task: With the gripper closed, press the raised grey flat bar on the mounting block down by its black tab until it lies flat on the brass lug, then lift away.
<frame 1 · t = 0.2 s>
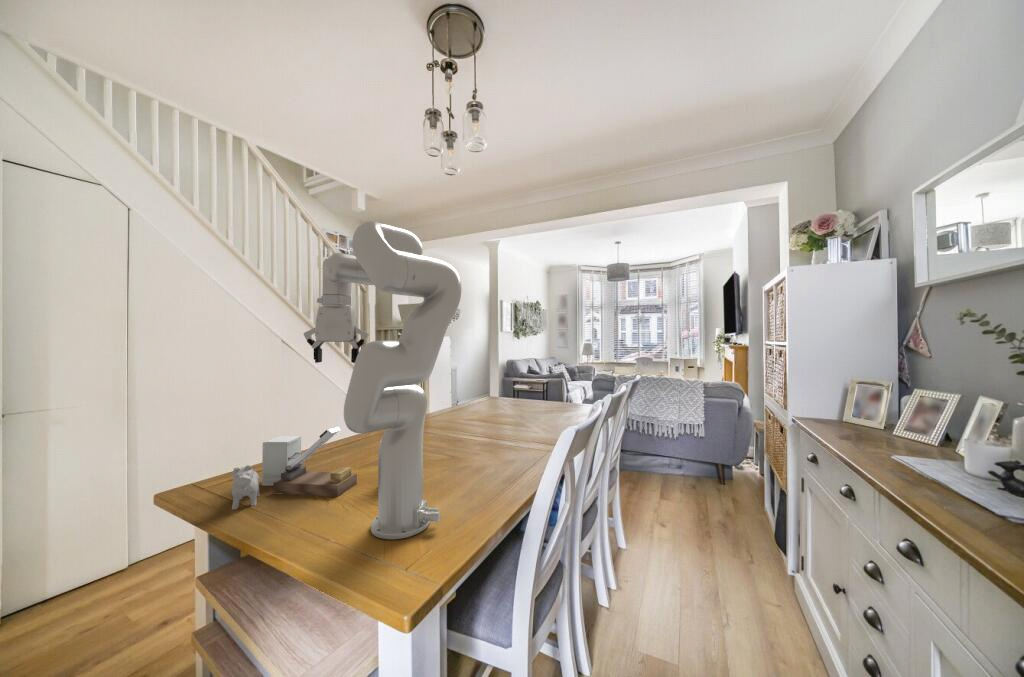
hand: (336, 362, 102), 36 cm above the table, tool pointing down, fingers open, 9 cm apart
mount block: (316, 488, 101), on the table
dog figurine: (246, 504, 92), on the table
supplement box: (282, 481, 107), on the table
grey flat bar: (312, 448, 101), point 11 cm above the table, hinge at 40.0°
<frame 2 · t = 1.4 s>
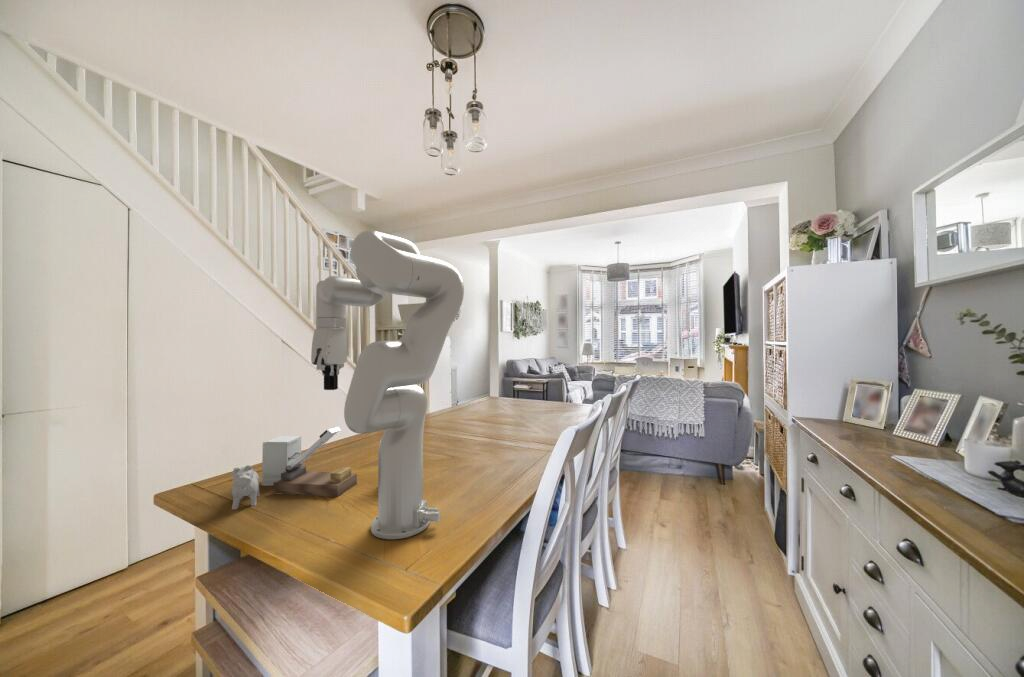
hand: (330, 389, 101), 28 cm above the table, tool pointing down, fingers closed
nothing on the table moved.
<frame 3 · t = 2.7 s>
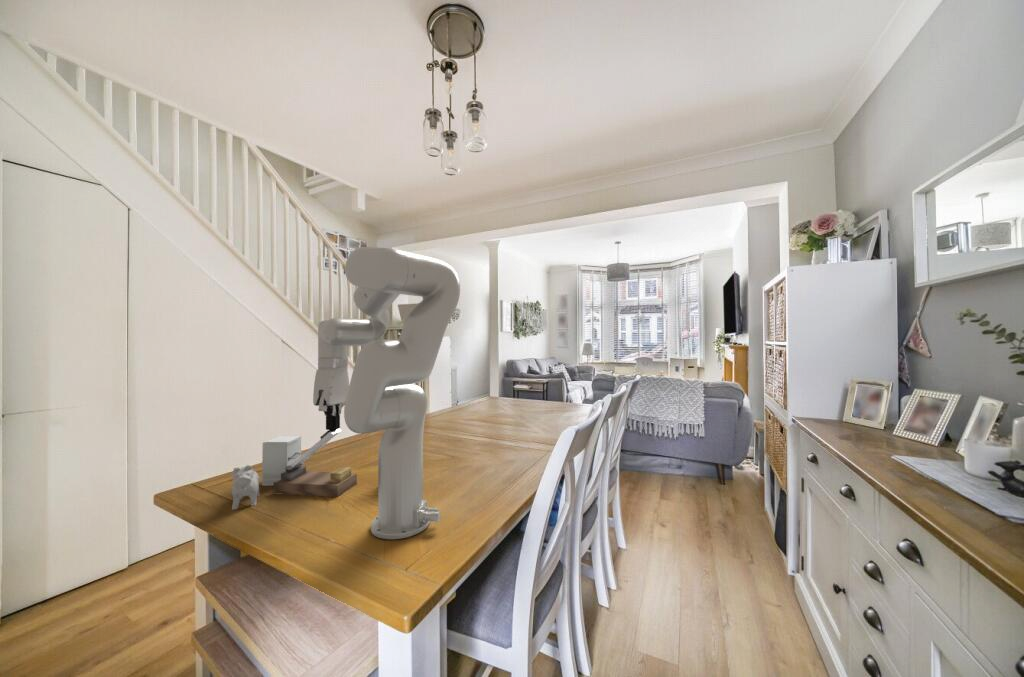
hand: (332, 429, 100), 17 cm above the table, tool pointing down, fingers closed
grey flat bar: (313, 449, 101), point 11 cm above the table, hinge at 38.4°, touching gripper
everything else where it was.
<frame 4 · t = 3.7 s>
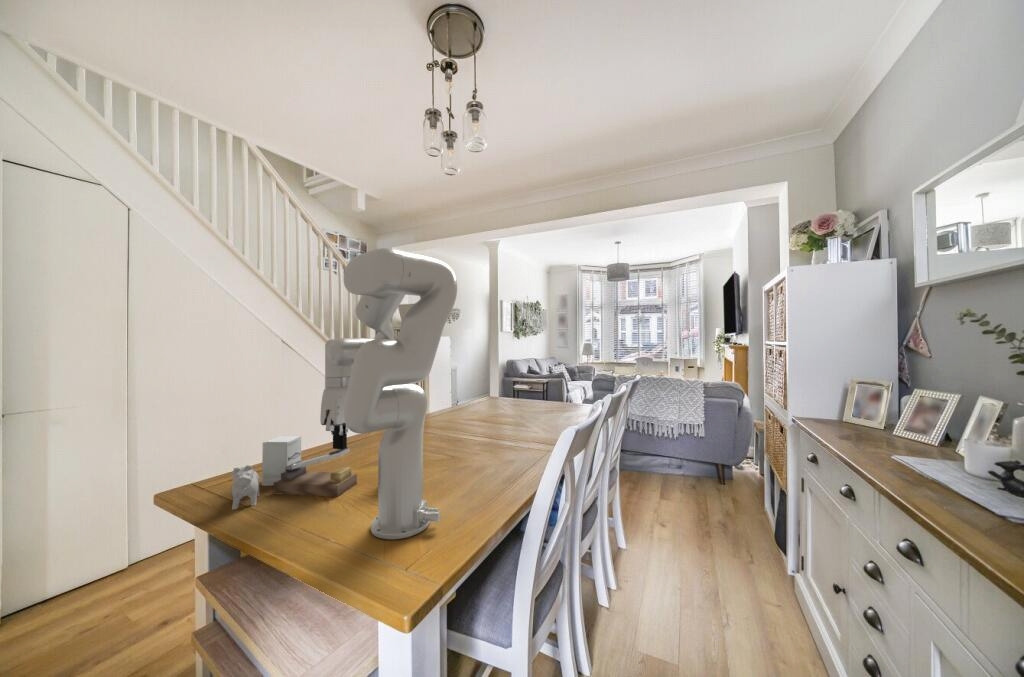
hand: (339, 448, 100), 11 cm above the table, tool pointing down, fingers closed
grey flat bar: (318, 458, 101), point 8 cm above the table, hinge at 16.1°, touching gripper
everything else where it was.
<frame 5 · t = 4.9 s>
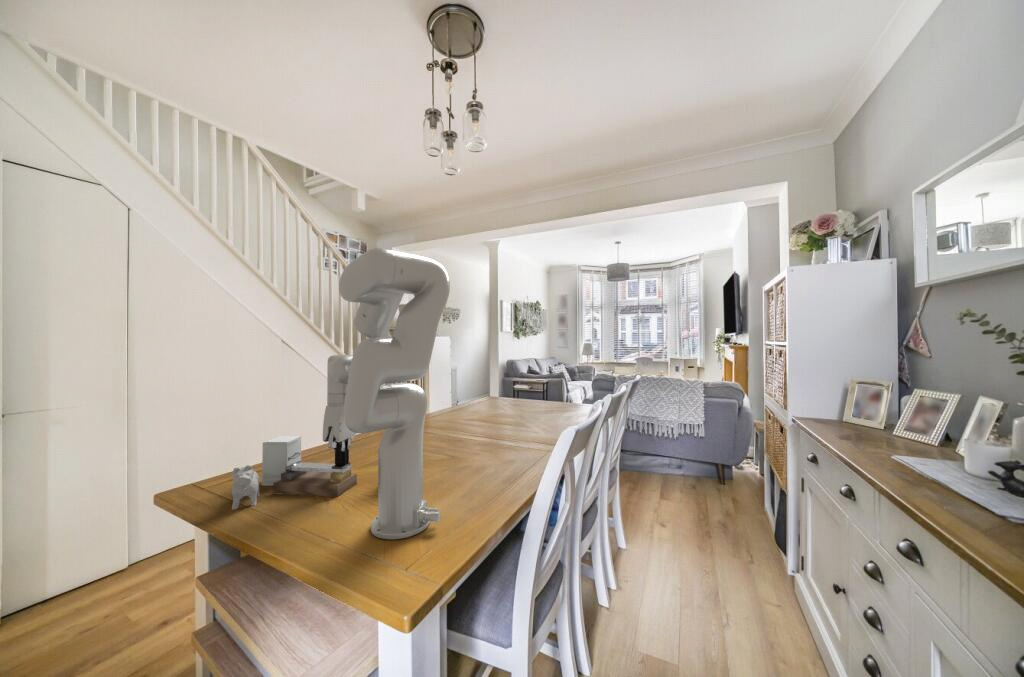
hand: (341, 464, 100), 7 cm above the table, tool pointing down, fingers closed
grey flat bar: (319, 466, 101), point 6 cm above the table, hinge at -0.4°, touching gripper, mount block
everything else where it was.
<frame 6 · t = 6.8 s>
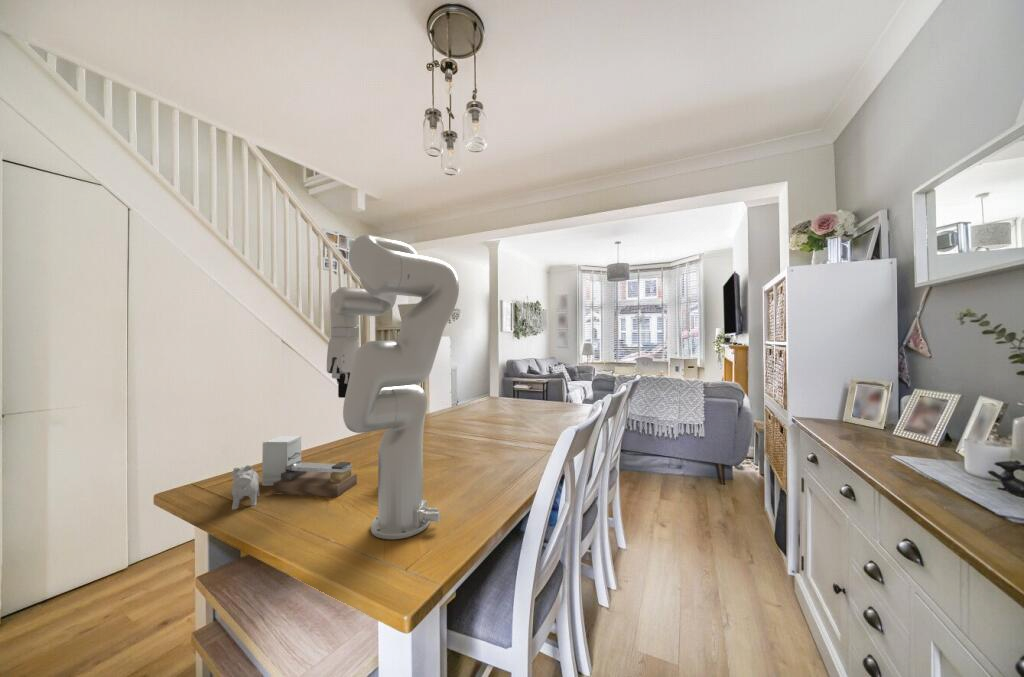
hand: (345, 397, 104), 25 cm above the table, tool pointing down, fingers closed
grey flat bar: (319, 466, 101), point 6 cm above the table, hinge at -0.4°, touching mount block
everything else where it was.
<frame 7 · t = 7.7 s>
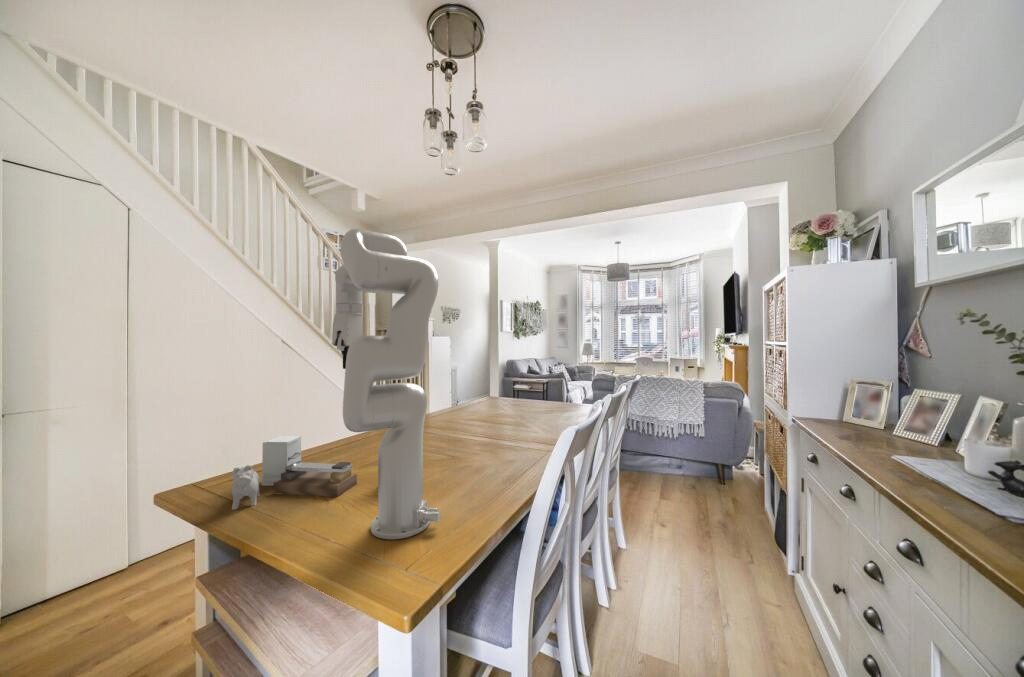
hand: (349, 368, 112), 33 cm above the table, tool pointing down, fingers closed
nothing on the table moved.
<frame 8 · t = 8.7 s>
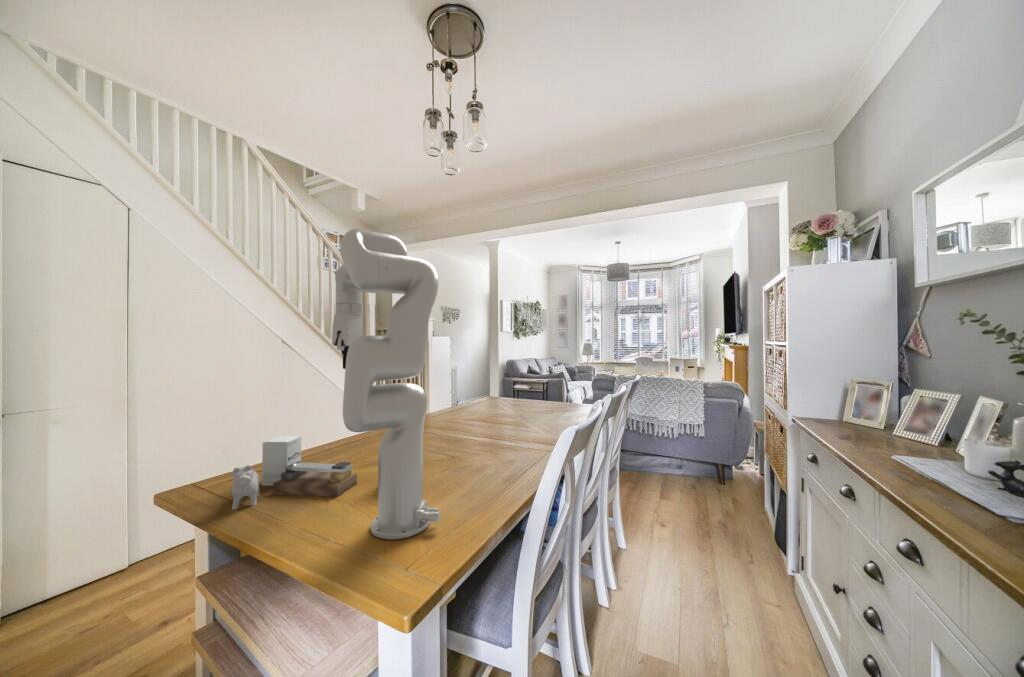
hand: (349, 368, 112), 33 cm above the table, tool pointing down, fingers closed
nothing on the table moved.
at the end: grey flat bar at +0° (first picture: +40°) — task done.
